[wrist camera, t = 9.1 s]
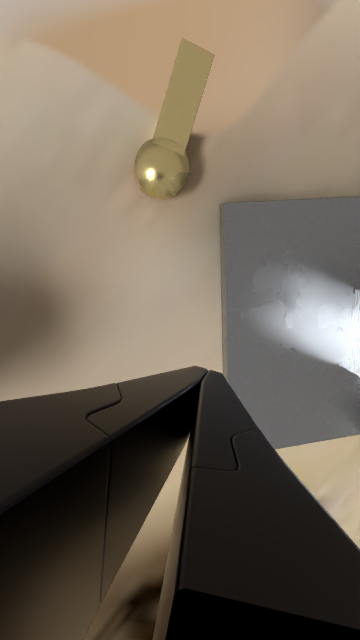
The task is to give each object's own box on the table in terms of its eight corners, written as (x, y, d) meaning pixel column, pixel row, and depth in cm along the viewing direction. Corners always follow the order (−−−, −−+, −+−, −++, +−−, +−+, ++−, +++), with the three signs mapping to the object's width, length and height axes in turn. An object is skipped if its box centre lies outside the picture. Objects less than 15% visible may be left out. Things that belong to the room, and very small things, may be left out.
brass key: (176, 206, 19) (179, 205, 18) (127, 188, 18) (128, 185, 17) (218, 71, 17) (225, 60, 16) (167, 45, 16) (170, 31, 15)
